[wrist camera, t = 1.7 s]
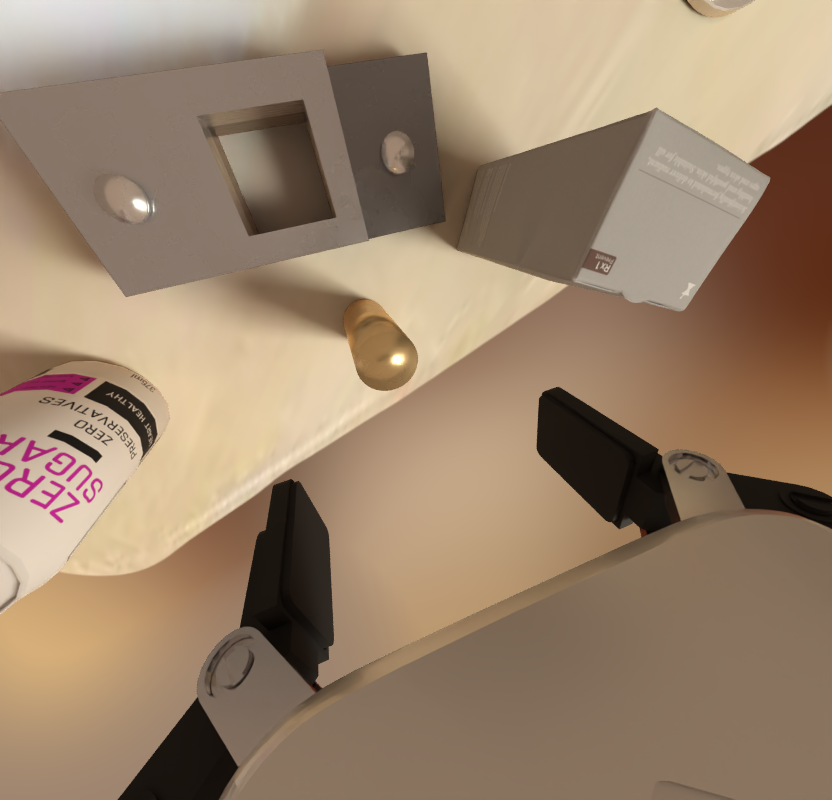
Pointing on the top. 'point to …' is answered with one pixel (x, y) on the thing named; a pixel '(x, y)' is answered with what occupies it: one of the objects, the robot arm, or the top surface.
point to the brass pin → (378, 346)
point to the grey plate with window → (209, 168)
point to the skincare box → (615, 209)
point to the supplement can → (67, 462)
